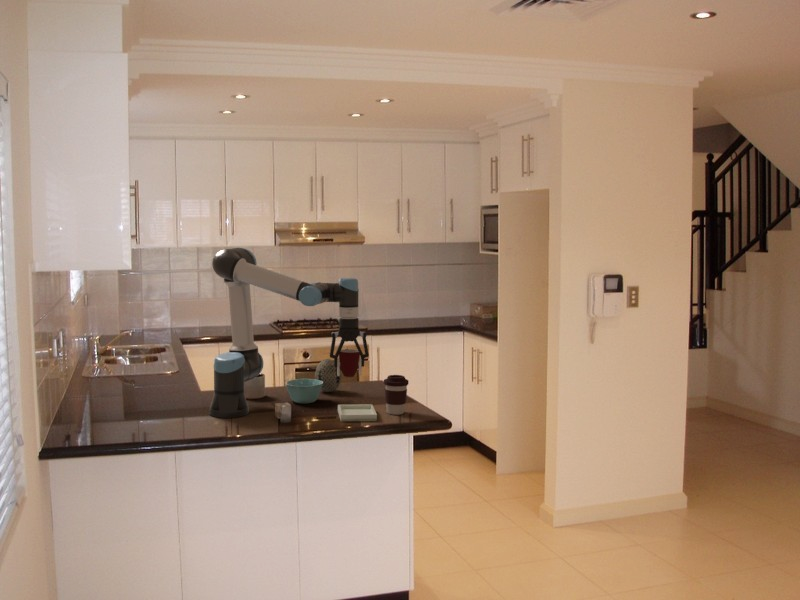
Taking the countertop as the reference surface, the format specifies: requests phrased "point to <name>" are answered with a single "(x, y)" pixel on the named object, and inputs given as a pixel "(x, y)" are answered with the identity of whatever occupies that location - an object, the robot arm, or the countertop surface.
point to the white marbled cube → (277, 409)
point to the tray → (357, 412)
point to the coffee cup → (395, 394)
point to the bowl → (304, 390)
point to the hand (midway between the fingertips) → (349, 374)
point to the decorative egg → (328, 375)
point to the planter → (255, 387)
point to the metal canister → (285, 413)
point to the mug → (349, 361)
